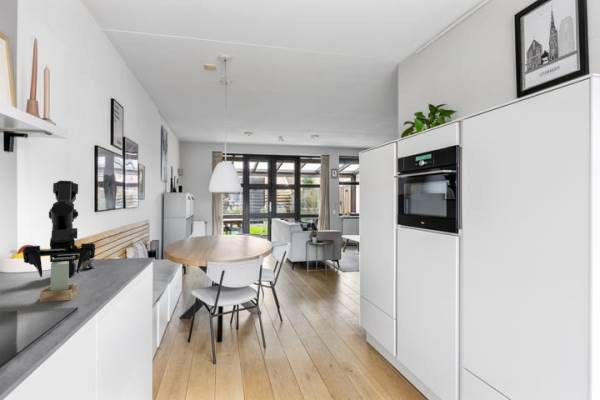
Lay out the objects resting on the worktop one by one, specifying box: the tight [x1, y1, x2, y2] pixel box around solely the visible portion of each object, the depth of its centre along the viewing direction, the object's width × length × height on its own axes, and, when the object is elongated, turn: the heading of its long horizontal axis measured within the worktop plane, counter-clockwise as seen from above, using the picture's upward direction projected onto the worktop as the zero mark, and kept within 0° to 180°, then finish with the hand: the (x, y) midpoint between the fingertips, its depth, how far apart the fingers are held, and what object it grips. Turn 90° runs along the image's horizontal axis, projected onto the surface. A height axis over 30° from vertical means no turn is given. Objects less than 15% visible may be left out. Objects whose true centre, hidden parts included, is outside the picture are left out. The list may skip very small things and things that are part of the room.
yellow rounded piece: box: [79, 254, 95, 270], centre depth 140 cm, size 5×5×10 cm
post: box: [49, 261, 70, 291], centre depth 102 cm, size 4×4×11 cm
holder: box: [39, 283, 78, 303], centre depth 102 cm, size 8×8×3 cm
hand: (59, 274), depth 100 cm, fingers open, 9 cm apart
